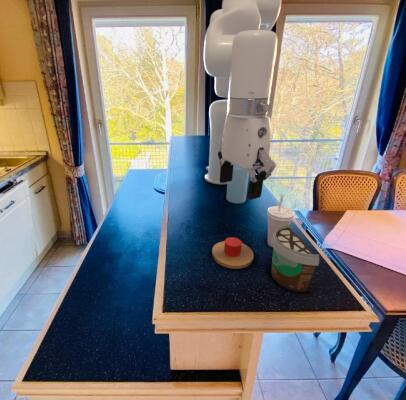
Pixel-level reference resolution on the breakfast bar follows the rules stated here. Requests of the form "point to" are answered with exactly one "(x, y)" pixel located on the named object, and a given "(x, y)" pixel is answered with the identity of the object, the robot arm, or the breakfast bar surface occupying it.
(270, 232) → the smoothie
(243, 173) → the bottle
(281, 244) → the food container
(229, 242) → the cap
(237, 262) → the coaster
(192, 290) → the breakfast bar surface
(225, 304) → the breakfast bar surface
